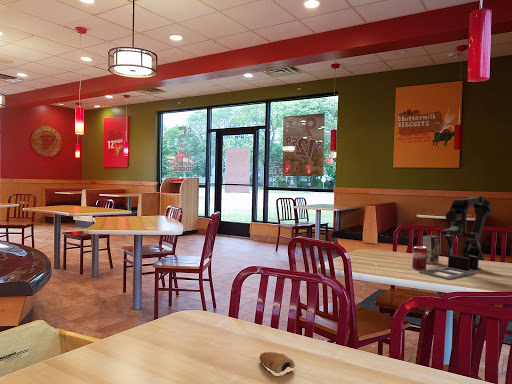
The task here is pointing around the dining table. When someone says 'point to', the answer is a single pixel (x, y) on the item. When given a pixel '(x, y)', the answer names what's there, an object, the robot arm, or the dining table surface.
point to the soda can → (419, 258)
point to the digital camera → (459, 262)
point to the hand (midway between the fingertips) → (459, 249)
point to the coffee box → (432, 248)
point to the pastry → (276, 361)
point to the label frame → (450, 271)
